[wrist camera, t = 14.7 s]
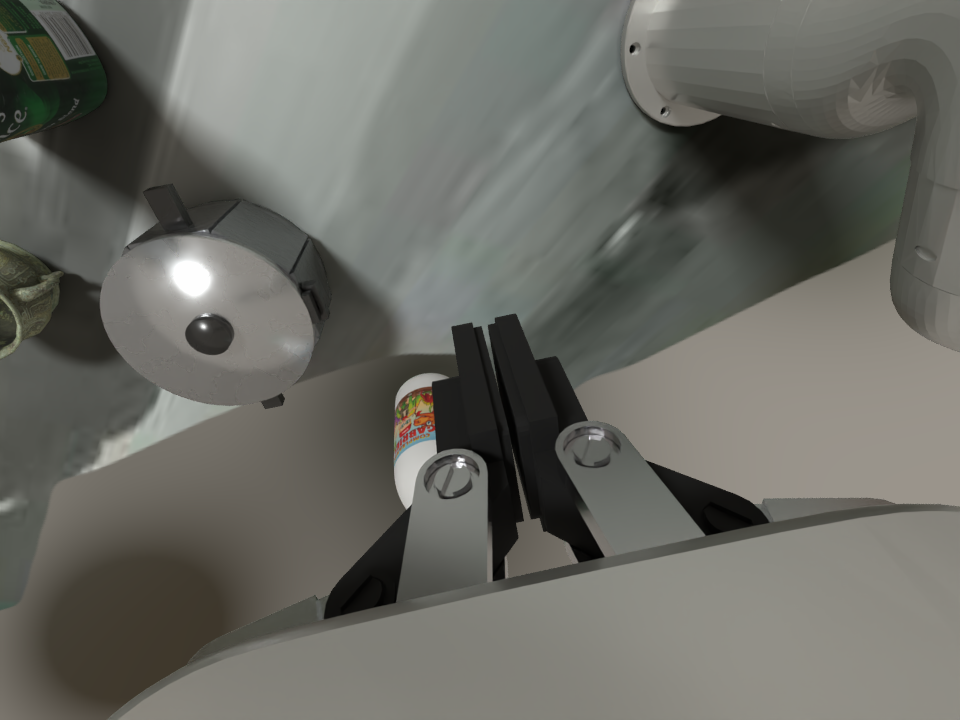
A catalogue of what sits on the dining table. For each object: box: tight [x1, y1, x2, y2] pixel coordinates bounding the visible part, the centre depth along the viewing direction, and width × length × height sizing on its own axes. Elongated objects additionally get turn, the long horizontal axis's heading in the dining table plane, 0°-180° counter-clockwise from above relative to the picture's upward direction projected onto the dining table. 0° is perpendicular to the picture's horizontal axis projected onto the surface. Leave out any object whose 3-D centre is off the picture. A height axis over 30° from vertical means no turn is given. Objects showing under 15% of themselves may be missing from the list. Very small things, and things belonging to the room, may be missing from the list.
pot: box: [122, 184, 332, 409], centre depth 39 cm, size 15×20×8 cm
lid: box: [100, 232, 321, 406], centre depth 35 cm, size 15×14×2 cm
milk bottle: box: [394, 373, 449, 509], centre depth 45 cm, size 8×8×20 cm
